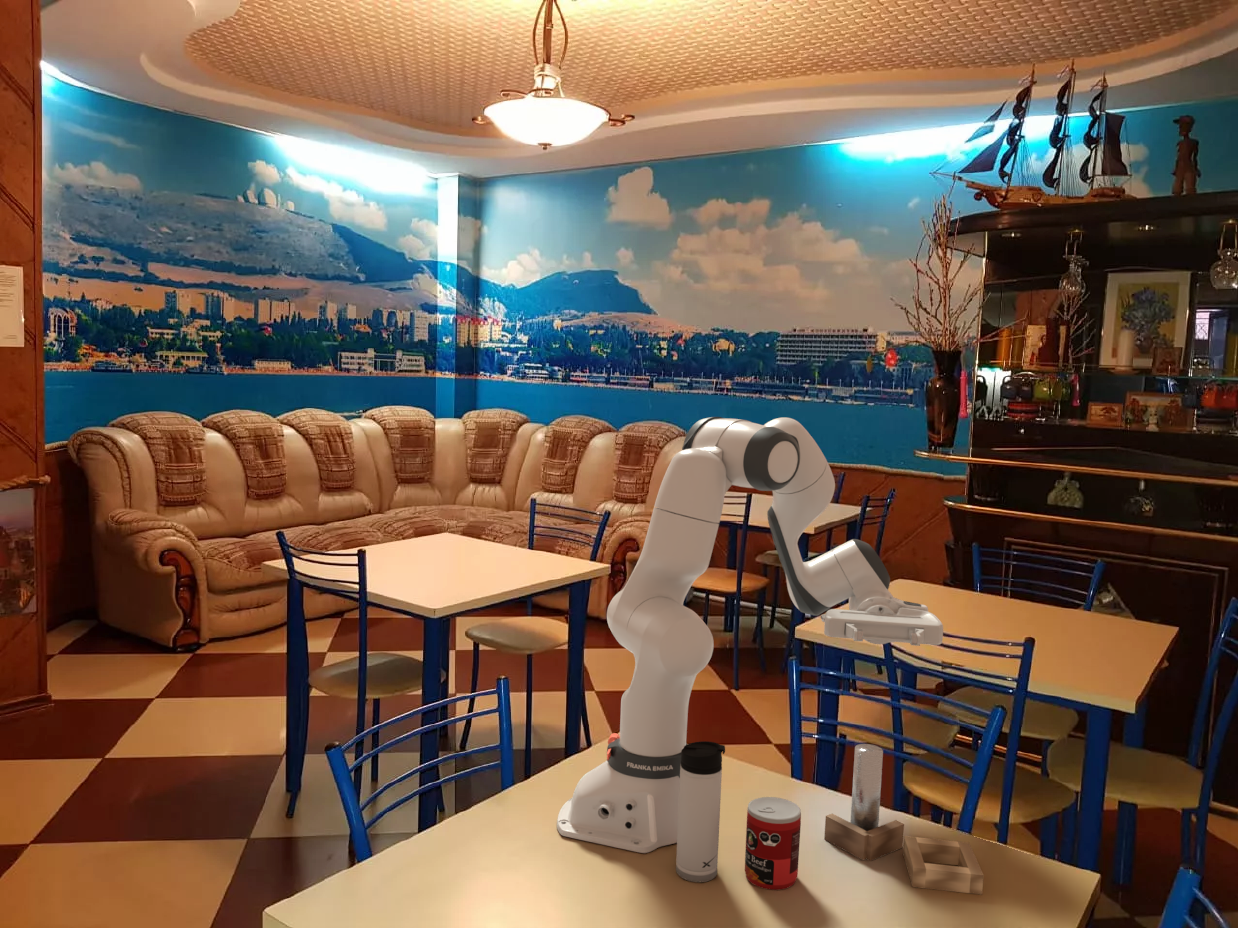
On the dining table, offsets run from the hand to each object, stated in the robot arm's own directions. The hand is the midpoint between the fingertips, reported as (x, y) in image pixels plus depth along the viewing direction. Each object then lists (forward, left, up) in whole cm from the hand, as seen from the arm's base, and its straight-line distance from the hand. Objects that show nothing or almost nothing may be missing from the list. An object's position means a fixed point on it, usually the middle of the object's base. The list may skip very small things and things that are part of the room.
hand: (887, 638), depth 159 cm
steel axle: (-3, -9, -32) cm, 33 cm away
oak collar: (+8, -16, -32) cm, 37 cm away
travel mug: (-29, -24, -32) cm, 50 cm away
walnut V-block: (-3, -11, -32) cm, 34 cm away
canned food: (-18, -23, -32) cm, 44 cm away
